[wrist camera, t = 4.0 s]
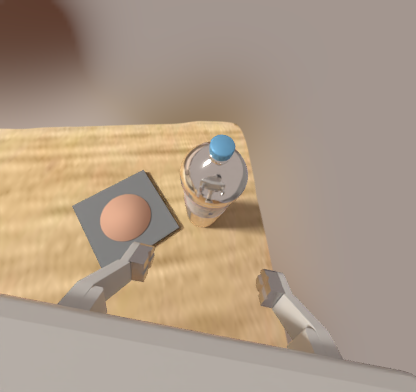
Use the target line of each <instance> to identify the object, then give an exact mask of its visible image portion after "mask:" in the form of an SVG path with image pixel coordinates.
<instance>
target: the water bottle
mask: <svg viewBox="0 0 416 392" xmlns="http://www.w3.org/2000/svg"><path fill="white" fill-rule="evenodd" d="M180 180H181V184H182V187H183V189H184V201H185V206H186V211H187V216H188V218H189V220H190V222H191V223H192V224H194V225H195V226H198V227H207V226H209V225H211V224H212V223H214V222H215V221H216V220H217V219H218V218H219V216H220V215H221V214H222V213H224V211H225V210H226V209H227V207H228V206H229V205H230V204H231V203H233V202H234V201H235V200H236V199H237V198H238V197H239V196H240V195H241V194H242V193H243V191H244V189H245V187H246V184H247V180H248V171H247V166H246V164H245V161H244V159H243V158H242V156H241V155H240V153H239V152H238V151H237V150H236V149H235V143H234V141H233V140H232V139H231V138H230V137H228V136H226V135H217V136H215V137H214V138H213V139H212V140H211V141H210V142H205V143H202V144H199V145H197V146H195V147H194V148H192V149H191V150H190V151H189V152H188V153H187V154H186V156H185V157H184V159H183V161H182V163H181V167H180Z"/></svg>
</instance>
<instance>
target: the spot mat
mask: <svg viewBox="0 0 416 392" xmlns="http://www.w3.org/2000/svg"><path fill="white" fill-rule="evenodd" d="M72 207H73V209H74V211H75V213H76V215H77V217H78V219H79V222H80V224H81V226H82V228H83V230H84V232H85V234H86V236H87V239H88V241H89V243H90V245H91V247H92V249H93V251H94V253H95V255H96V258H97V260H98V262H99V264H100V266H101V268H103V267H105V266H107V265H109V264H110V263H112V262H114V261H116V260H120V259H121V258H122V256H123V255H124V254H125V252H126V251H127V250H128V248H129V247H130V245H131V244H132V243H133V242H138V243H143V244H147V245H151V246H152V245H154V244H155V243H157V242H158V241H160V240H161V239H163V238H164V237H166V236H168V235H169V234H171V233H172V232H174V231H175V230H177V229H178V228H179V226H178V224H177V223H176V221H175V220H174V218H173V216H172V215H171V213H170V212H169V210H168V208H167V207H166V205H165V204H164V202H163V200H162V199H161V197H160V196H159V194H158V192H157V191H156V189H155V188H154V186H153V184H152V183H151V181H150V180H149V178H148V176H147V175H146V173H145V172H144V170H142V171H140V172H138V173H136V174H134V175H132V176H130V177H128V178H126V179H125V180H123V181H121V182H119V183H117V184H115V185H113V186H111V187H109V188H107V189H105V190H103V191H101V192H99V193H97V194H95V195H93V196H91V197H89V198H87V199H85V200H83V201H81V202H79V203H77V204H75V205H73V206H72Z"/></svg>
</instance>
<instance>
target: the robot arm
mask: <svg viewBox="0 0 416 392" xmlns="http://www.w3.org/2000/svg"><path fill="white" fill-rule="evenodd" d="M154 250H155V246H151V245H147V244H143V243H138V242H133V243H132V244H131V245H130V247H129V248H128V250H127V251H126V252H125V254H124V255H123V256H122V258H121V259H120V260H116V261H114V262H112V263H110V264H109V265H107V266H105V267H103V268H101V269H99V270H98V271H96V272H94V273H92V274H90V275H88V276H87V277H85V278H83V279H81V280H79V281H78V282H77V283H76V284H75V285H74V286H73V287H72V288H71V289H70V290H69V292H68V293H67V294H66V295H65V296H64V297H63V298H62V299H61V301H60V302H59V303H58V304H52V303H47V302H42V301H37V300H32V299H26V298H21V297H16V296H11V295H6V294H1V293H0V392H416V376H414V375H413V374H410V373H408V372H405V371H401V370H395V369H390V368H385V367H380V366H374V365H370V364H364V363H359V362H354V361H349V360H344V359H343V358H342V356H341V354H340V352H339V350H338V348H337V346H336V344H335V342H334V340H333V339H332V337H331V335H330V333H329V331H328V330H327V329H326V328H325V327H324V326H323V325H322V324H321V323H320V322H319V321H318V320H317V319H316V318H315V317H314V315H313V314H312V313H311V312H310V311H309V310H308V309H307V308H306V307H305V306H304V305H303V304H302V303H301V302H300V301H299V300H298V298H297V297H296V296H293V294H292V292H291V289H290V287H289V285H288V282H287V280H286V278H285V275H284V274H283V273H280V272H275V271H271V270H266V269H262V270H261V271H260V273H261V274H260V275H258V277H257V279H256V288H257V290H258V291H259V295H258V297H259V301H260V305H261V306H265V307H269V308H272V310H273V311H274V313H275V314H276V316H277V317H278V319H279V320H280V322H281V323H282V325H283V326H284V328H285V329H286V331H287V333H288V334H289V335H290V337H291V339H292V341H291V342H290V343H289V344H288V345H287V349H286V348H281V347H276V346H271V345H265V344H260V343H255V342H250V341H245V340H240V339H234V338H229V337H224V336H219V335H214V334H208V333H203V332H198V331H193V330H188V329H182V328H177V327H172V326H167V325H162V324H156V323H151V322H146V321H141V320H136V319H130V318H125V317H120V316H115V315H110V314H106V313H107V308H106V302H105V301H106V300H108V299H109V298H110V297H111V296H112V295H114V294H115V293H116V292H117V291H119V290H120V289H121V288H122V287H124V286H125V285H126V284H127V283H129V282H130V281H131V280H135V281H141V282H144V280H145V278H146V276H147V274H148V269H149V268H150V267H151V265H152V263H153V260H154V253H153V252H154Z"/></svg>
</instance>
